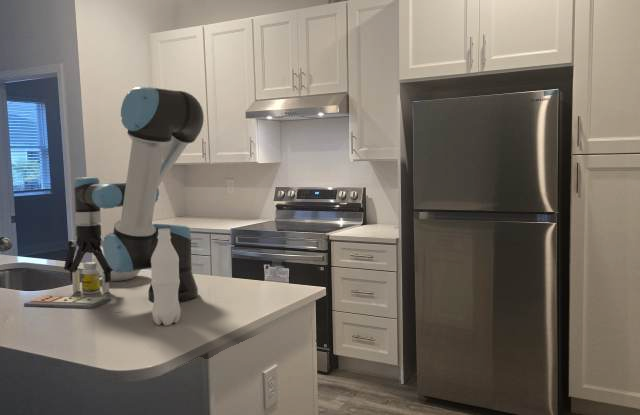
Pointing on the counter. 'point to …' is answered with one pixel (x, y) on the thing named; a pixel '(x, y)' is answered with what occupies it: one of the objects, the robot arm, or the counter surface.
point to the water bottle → (165, 280)
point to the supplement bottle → (90, 278)
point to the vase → (114, 275)
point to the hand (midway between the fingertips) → (91, 291)
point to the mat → (68, 301)
